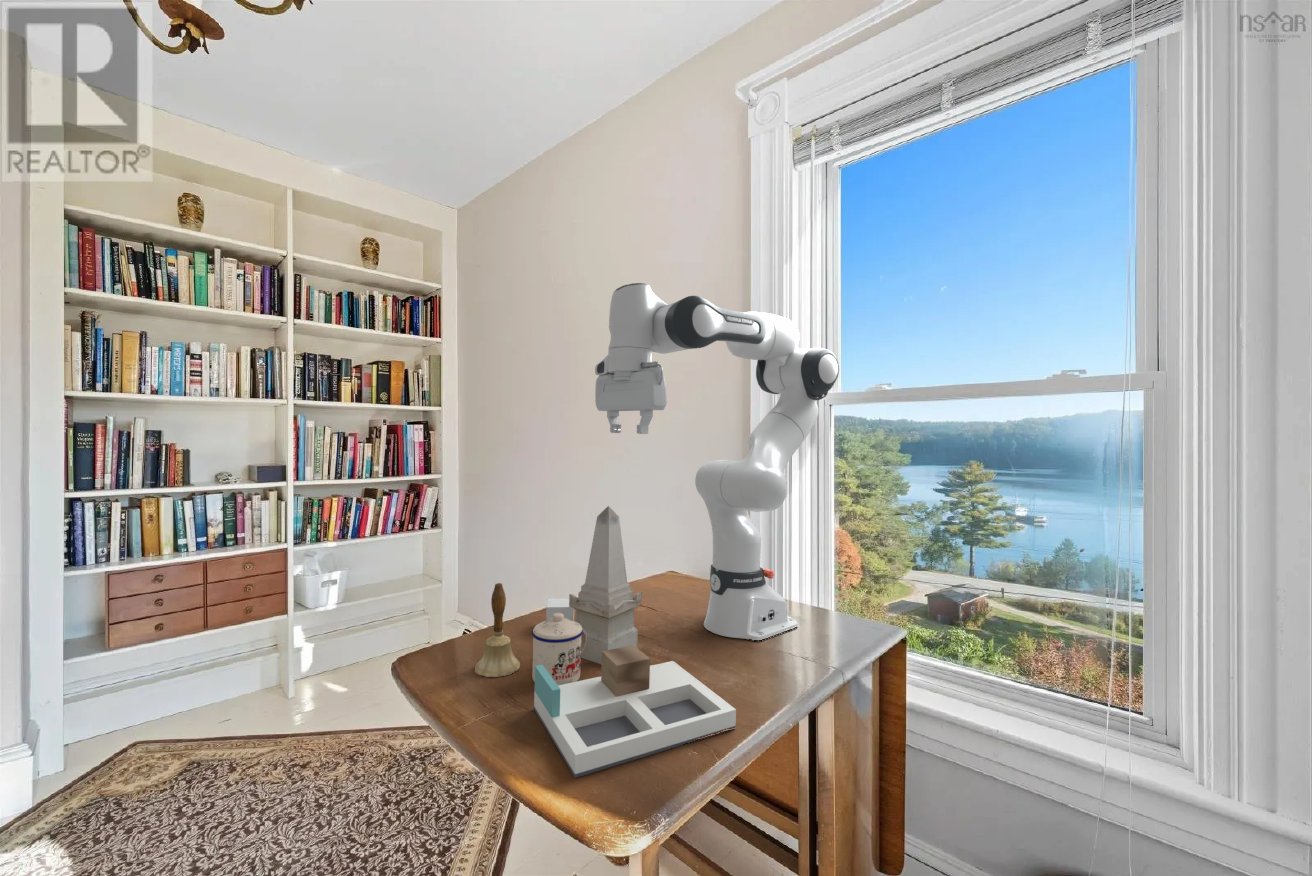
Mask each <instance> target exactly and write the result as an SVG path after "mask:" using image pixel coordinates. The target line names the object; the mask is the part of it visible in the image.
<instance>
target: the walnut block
mask: <svg viewBox="0 0 1312 876" xmlns="http://www.w3.org/2000/svg"><path fill="white" fill-rule="evenodd" d="M650 666H651V658H650V657H649V656H647V655H646V654H645V653H644V652H643V651H642V650H641V649H639V647H638V646H637V647H635V646H634V645H633V646H627V647H622V648H617V649H612V650H606V651H602V665H601V674H600V675H601V681H602V682H603V683H604V684H605V685H606V687H607V688H608V689H609V690H610V691H611V692H612V693H613V694H614V695H615V696H616V697H617V696H622V695H626V694H630V693H634V692H638V691H643V690H647V689H649V680H650Z"/></svg>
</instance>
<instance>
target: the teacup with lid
mask: <svg viewBox="0 0 1312 876" xmlns="http://www.w3.org/2000/svg"><path fill="white" fill-rule="evenodd" d="M531 633H532V634H531V635H532V637H533V638H532V640H533V641H532V643H533V644H532V677H531V678H532V681H533V682H534V683H535V666H537V665H543V666H544V667H545V669H546V670H547V671H548V673H549V674H550V676H551V677H552V678H553V680H554V681H555V682H556V684H557V685H563V684H567V683H572V682H577V681H579V679H581V678H580V677H581V668H582V666H581V665H582V662H581V661H582V658H581V653H582V652H583V651H584V649H585V646H586V643H587V633H586V631H585V630H583V629H582V627H581V625H580V624H579V623H577V622H576V620H574V621H572V620H569V619H567V618H564V615H563V614H562V613H555V614H553V618H551V619H549V620H547V621H546V620H544V621H541V622H540V623H537V624H535V626H534V628H533V629H532V632H531Z"/></svg>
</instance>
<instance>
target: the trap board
mask: <svg viewBox="0 0 1312 876" xmlns="http://www.w3.org/2000/svg"><path fill="white" fill-rule="evenodd" d="M533 695H534V696H533V697H534V698H533V699H534V701H533V704H534V705H533V710H534V712H535V713H536V715H537V717H538V718H539V720H540V722H541V723H542V725H543V727H544V728H545V730H546V731H547V734H548V735H549V737H550V739H551V740H552V742H553V744H554V745H555V747H556V748H557V750H558V752H559V753H560V756H561V757H562V759H563V760H564V762H565V763H566V765H567V767H568V769H569V771H570V772H571V774H572V776H573V777H574V778H575V779H577V778H580V777H584V776H586V775H587V776H588V775H589V774H592V773H593V774H594V773H597V772H600V771H603V770H605V769H610V768H612V767H616V766H619V765H622V764H626V763H629V762H632V761H635V760H638V759H642V758H645V757H649V756H651V755H655V754H658V753H662V752H664V751H668V750H671V748H672V749H676V748H678V747H681V746H684V745H683V744H685V743H688V744H691V743H693V742H692V741H694V740H696V739H698V738H702V737H705V736H708V735H711V734H716V733H718V732H721V731H723V730H726V729H732V728H735V727H736V721H737V720H736V719H737V709H736V708H735V707H733V706H732V705H731V704H730V703H728V702H727V701H726V700H724V699H723V698H722V697H721V696H719V694H717V693H715V692H714V691H713V690H711V689H710V688H709V687H708V686H706V685H705V684H704V683H702V682H701V681H700V680H698V679H697V678H696V677H695V676H693V675H692V674H691V673H690V672H688V671H686V670H685V669H684V668H683V667H681V666H680V665H679V664H678V663H677V662H675V661H674V660H671V661H666V662H661V663H657V664H652V665H650V680H649V689H647V690H643V691H638V692H634V693H630V694H626V695H622V696H617V697H616V696H615V695H614V694H613V693H612V692H611V691H610V690H609V689H608V688H607V687H606V685H605V684H604V683H603V682H602V681H601V676H596V677H591V678H587V679H583V680H578V681H576V682H572V683H567V684H563V685H557V684H556V682H555V681H554V680H553V678H552V677H551V676H550V674H549V673H548V671H547V670H546V669H545V667H544V666H543V665H537V666H535V682H534V694H533ZM736 728H737V727H736ZM690 742H691V743H690ZM694 742H695V741H694ZM685 745H686V744H685Z"/></svg>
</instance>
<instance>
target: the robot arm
mask: <svg viewBox="0 0 1312 876" xmlns="http://www.w3.org/2000/svg"><path fill="white" fill-rule="evenodd" d="M609 305H610V306H609V315H608V316H609V317H608V319H609V320H608V321H609V322H608V329H609V333H610V341H609V345H608V355H606V356H604V358H603V359H602V360H601V361H600V362H598V363H597V364H596V365H595V367H594V373H595V375H596V376H597V378H596V380H595V387H594V388H595V393H594V395H595V396H594V397H595V400H594V401H595V402H594V403H595V406H596V409H597V411H599V412H606V417H607V420H608V423H609V425H610V426H609V432H610V433H611V434H621V432H622V429H621V428H622V424H620V422H619V419H618V417H619V416H620V412H634V411H635V412H637V411H639V416H640V417H641V418H640V420H639V424H636V433H637V434H638V435H647V434H649V425H650V424H651V421H652V419H653V417H654V411H664V409H665V408H666V406H667V402H668V401H667V398H668V397H667V384H666V378H665V374H664V367H663V366H662V365H661V364H660V363H659V362H658V361H654V360H653V353H657V354H665V355H666V354H671V353H675V352H681V351H686V350H692V349H694V350H695V349H702V348H706V347H708V346H709V345H712V344H713V343H715V342H725V343H726V346H727V349H728V351H729V352H730V353H731V354H732V355H733V356H735V357H738V358H741V359H747V360H752V361H753V360H756V362H757V363H756V367H755V368H756V369H755V377H756V378H755V379H756V382H757V385H758V386H759V388H760V389H761V390H762V392H766V393H769V394H772V395H779V398H778V401H777V402H776V404H775V405H774V406H773V407H772V408H771V409H770V411H768V413H767V414H766V415H765V416H764V417H763V418H762V419H761V421H760V422H759V423H758V424H757V426H755V428H754V429H753V430H752V432H751V433H749V436H748V439H747V445H748V448H749V452H748V454H747V456H746V457H744V458H743V459H741V460H734V459H733V460H731V459H716V460H711V461H707V462H705V463H703V464H702V465H701V466H700V467H699V468H698V470H697V471H696V473H695V479H694V480H695V488H696V491H697V493H698V494H699V496H701V498H702V500H703V501H704V503H705V506H706V510H707V513H708V516H709V520H710V521H709V522H710V525H711V531H712V563H711V564H710V571H709V572H710V573H709V585H710V594H709V601H708V605H707V606H708V607H707V611H706V615H705V618H704V622H703V626H704V628H705V629H706V630H708V631H710V632H711V633H713V634H715V635H719V636H723V637H727V638H733V639H734V638H735V639H744V640H745V639H746V640H749V639H752V640H751V641H754V640H762V639H764V638H768V637H770V636H772V635H775V634H778V633H781V632H783V631H784V630H786V629H791V628H793V627H795V626H797V625H798V622H797V621H796V619H795V618H793V617H792V616H790V615H788V614H789V613H788V607H787V606H788V605H787V602H786V599H785V598H784V597H783V596H782V595H781V594H779V593H778V592H777V591H776V590H775V589H773V588H772V587H771V586H770V584H767V581H766V578H767V579H770V580H771V579H774V577H775V572H774V570H772V569H769V568H765V569H764V568H762V567H761V552H762V551H761V549H762V548H761V547H762V537H761V534H760V532H759V530H758V528H757V527H756V526H755V525H754V524H753V522H752V520H751V517H750V514H749V512H750V511H751V512H754V513H758V512H759V513H760V512H771V511H776V510H777V509H779V508H780V507H781V505H782V504H783V503H784V501H785V500H786V497H787V494H788V482H787V479H786V476H785V475H784V473H785V468H786V467H787V464H788V462H789V461H790V460H791V459H792V457H793V456H794V454H795V453H796V451H797V450H798V449H799V447H800V446H801V445H802V444H803V442H804V441H805V440H806V438H807V437H808V435H809V434H810V432H811V430H812V429H813V427H814V426H815V423H816V421H817V419H818V417H819V406H818V403H817V402H816V401H820V400H822V399H824V398H826V397H827V396H828V393H829V391H831V389H832V388H833V387H834V385H835V383H836V381H837V379H838V378H839V374H840V373H839V372H840V365H839V364H840V363H839V362H838V359H837V355H835V353H834V352H833V351H831V350H830V349H827V348H822V347H812V348H800V347H799V341H800V332H799V329H798V326H797V325H796V323H795V322H793V321H792V320H790V319H788V318H787V317H783V316H780V315H777V314H773V313H768V312H758V311H747V312H745V311H744V312H742V311H737V310H730V309H726V308H721V307H719V306H717V305H715V304H713V303H712V302H711V301H709V300H708V299H706V298H704V297H701V296H699V295H689V296H685V297H683V298H681V299H680V300H677V301H676V302H675V301H674V302H673V303H670V304H668V303H666V302H665V301H663V300H662V299H661V298H660V297H658V296H657V295H656V294H655V293H654V292H653V291H652V288H651V286H650V285H649V284H647V283H642V282H637V283H636V282H635V283H629V284H623V285H622V286H619V287H618V288H616V289H615V290H614V291H613V292H612V295H611V300H610V304H609ZM790 620H792V621H790ZM798 626H799V625H798ZM781 634H782V633H781ZM770 638H771V637H770ZM768 639H769V638H768ZM762 641H763V640H762Z"/></svg>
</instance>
